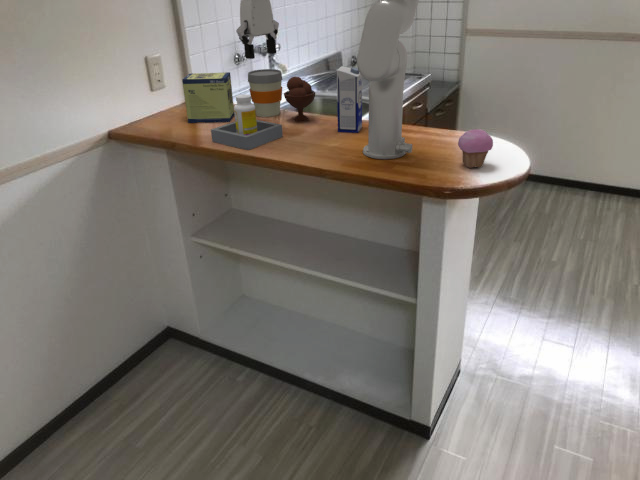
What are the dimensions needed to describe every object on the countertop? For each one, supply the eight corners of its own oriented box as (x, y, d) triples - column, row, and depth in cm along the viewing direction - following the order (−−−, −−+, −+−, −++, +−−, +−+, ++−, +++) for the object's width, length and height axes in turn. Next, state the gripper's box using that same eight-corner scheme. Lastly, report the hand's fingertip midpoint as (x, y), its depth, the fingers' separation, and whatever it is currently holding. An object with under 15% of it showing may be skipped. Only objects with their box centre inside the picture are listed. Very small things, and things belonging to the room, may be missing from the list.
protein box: (230, 122, 193) (226, 77, 186) (187, 123, 193) (181, 79, 186) (235, 114, 202) (230, 71, 195) (194, 115, 203) (188, 73, 195)
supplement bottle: (262, 134, 174) (258, 94, 168) (249, 140, 169) (245, 99, 163) (245, 132, 178) (241, 92, 171) (232, 137, 173) (228, 97, 167)
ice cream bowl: (303, 125, 186) (301, 81, 179) (279, 120, 192) (276, 77, 185) (322, 118, 194) (320, 75, 186) (298, 114, 200) (296, 72, 193)
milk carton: (342, 126, 184) (341, 65, 175) (362, 127, 182) (362, 65, 173) (337, 132, 178) (336, 69, 169) (357, 133, 176) (357, 69, 167)
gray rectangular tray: (282, 136, 175) (282, 124, 173) (248, 150, 164) (246, 137, 162) (247, 129, 184) (246, 117, 182) (212, 141, 173) (210, 129, 171)
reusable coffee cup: (269, 107, 210) (266, 67, 203) (291, 112, 202) (289, 71, 195) (244, 114, 202) (240, 73, 195) (265, 120, 194) (262, 77, 187)
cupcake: (484, 160, 150) (488, 124, 145) (494, 171, 142) (498, 134, 137) (452, 161, 150) (455, 126, 145) (460, 172, 142) (463, 135, 137)
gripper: (265, -9, 163) (270, 51, 171) (224, -4, 151) (232, 60, 159) (284, -9, 159) (289, 51, 167) (243, -5, 147) (250, 61, 155)
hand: (261, 55), depth 163 cm, fingers open, 9 cm apart
